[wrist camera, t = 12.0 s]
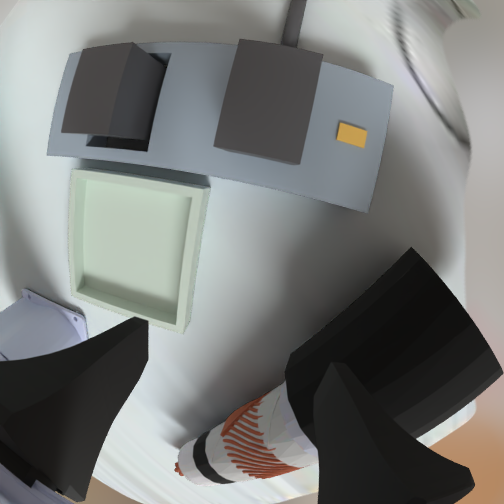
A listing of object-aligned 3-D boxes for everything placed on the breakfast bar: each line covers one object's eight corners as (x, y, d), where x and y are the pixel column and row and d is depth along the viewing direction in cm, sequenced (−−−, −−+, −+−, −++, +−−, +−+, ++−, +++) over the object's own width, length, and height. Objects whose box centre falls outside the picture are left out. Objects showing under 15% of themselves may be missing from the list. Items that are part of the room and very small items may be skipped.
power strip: (67, 154, 17) (7, 158, 11) (118, -12, 12) (81, -44, 6) (355, 207, 17) (395, 229, 11) (388, 11, 12) (421, -31, 6)
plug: (115, 137, 17) (60, 132, 11) (130, 73, 15) (82, 49, 9) (156, 141, 17) (107, 134, 11) (173, 73, 15) (133, 42, 9)
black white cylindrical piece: (182, 422, 31) (127, 456, 22) (405, 244, 18) (418, 249, 9) (229, 474, 28) (183, 516, 19) (478, 337, 15) (519, 402, 6)
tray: (83, 287, 21) (71, 295, 19) (86, 167, 17) (71, 168, 16) (190, 321, 20) (183, 334, 19) (210, 187, 17) (203, 189, 16)
